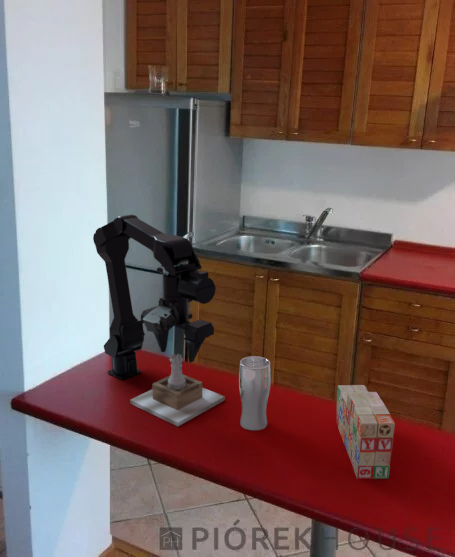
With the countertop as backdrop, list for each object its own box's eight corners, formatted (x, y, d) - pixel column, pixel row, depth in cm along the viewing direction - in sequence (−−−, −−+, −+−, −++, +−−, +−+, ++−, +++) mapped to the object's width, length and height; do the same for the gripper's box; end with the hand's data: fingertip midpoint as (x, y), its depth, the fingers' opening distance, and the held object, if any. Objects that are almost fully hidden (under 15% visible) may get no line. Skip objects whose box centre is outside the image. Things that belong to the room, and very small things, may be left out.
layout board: (130, 403, 137) (129, 384, 136) (177, 380, 149) (177, 363, 147) (177, 426, 127) (177, 406, 126) (224, 400, 139) (224, 381, 138)
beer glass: (275, 423, 129) (277, 362, 125) (255, 435, 124) (257, 372, 120) (252, 412, 133) (253, 353, 129) (231, 423, 128) (232, 362, 124)
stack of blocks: (334, 421, 130) (338, 372, 126) (362, 421, 130) (366, 372, 127) (357, 480, 109) (361, 422, 106) (389, 479, 110) (395, 422, 106)
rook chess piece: (179, 392, 134) (178, 361, 132) (163, 388, 136) (162, 357, 134) (189, 385, 138) (189, 354, 135) (174, 381, 140) (174, 350, 138)
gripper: (121, 293, 130) (124, 356, 135) (180, 311, 119) (181, 380, 123) (157, 283, 138) (159, 343, 143) (215, 298, 127) (215, 363, 131)
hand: (177, 356), depth 135 cm, fingers open, 9 cm apart
